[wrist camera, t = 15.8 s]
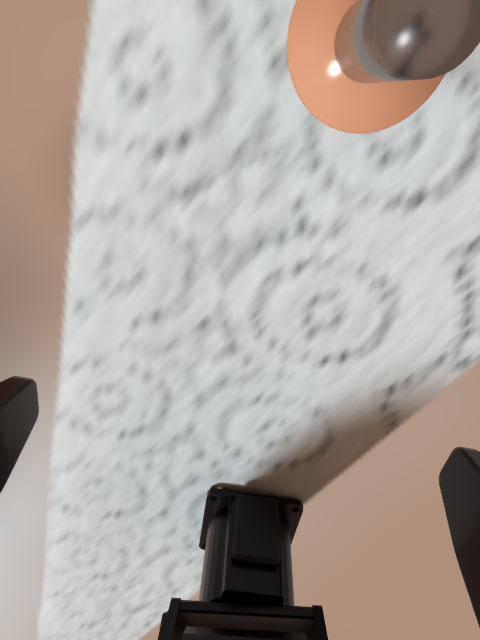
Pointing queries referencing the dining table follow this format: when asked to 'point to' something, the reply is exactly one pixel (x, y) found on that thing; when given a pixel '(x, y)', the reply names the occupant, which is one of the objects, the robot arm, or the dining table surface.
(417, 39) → the steel peg
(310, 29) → the marker disc
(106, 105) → the dining table surface
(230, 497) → the robot arm
